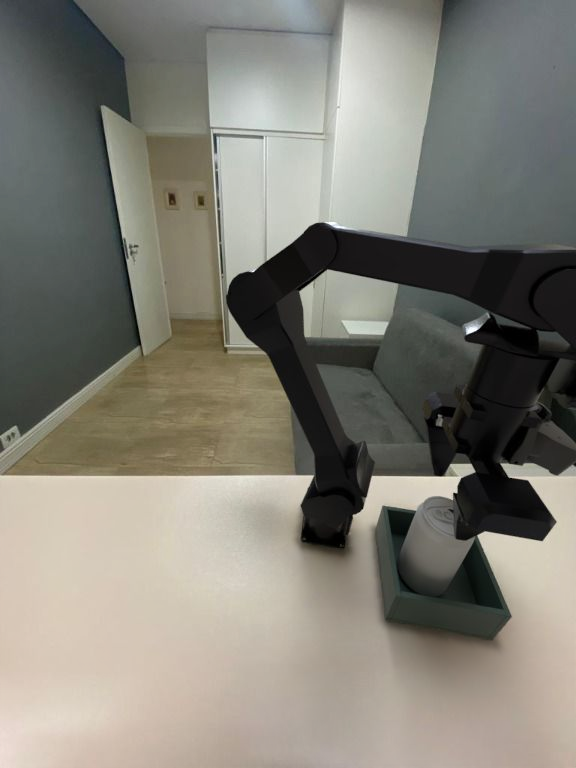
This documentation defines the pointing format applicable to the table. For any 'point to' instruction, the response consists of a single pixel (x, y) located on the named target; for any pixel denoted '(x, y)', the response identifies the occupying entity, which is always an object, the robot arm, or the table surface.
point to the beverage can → (432, 548)
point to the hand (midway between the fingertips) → (447, 503)
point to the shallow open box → (457, 604)
